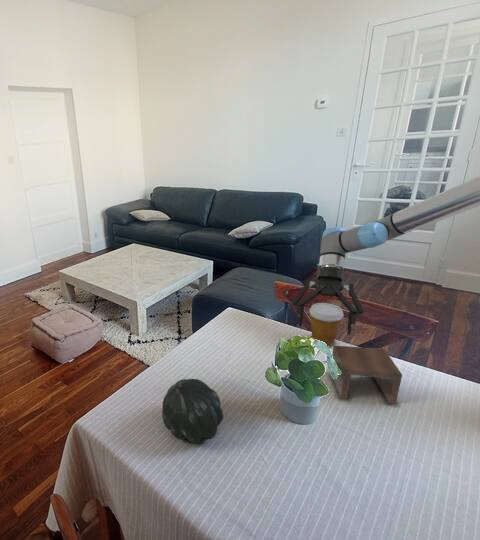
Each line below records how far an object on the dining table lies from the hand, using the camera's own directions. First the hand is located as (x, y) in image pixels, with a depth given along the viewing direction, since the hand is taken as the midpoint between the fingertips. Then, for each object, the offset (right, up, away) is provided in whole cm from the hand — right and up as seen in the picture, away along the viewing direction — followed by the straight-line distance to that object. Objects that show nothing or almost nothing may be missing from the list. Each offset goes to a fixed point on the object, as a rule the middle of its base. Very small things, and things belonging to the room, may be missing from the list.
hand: (323, 329), depth 109 cm
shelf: (-1, -12, -18) cm, 22 cm away
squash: (-48, -21, -25) cm, 58 cm away
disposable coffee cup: (+1, -5, +3) cm, 6 cm away
